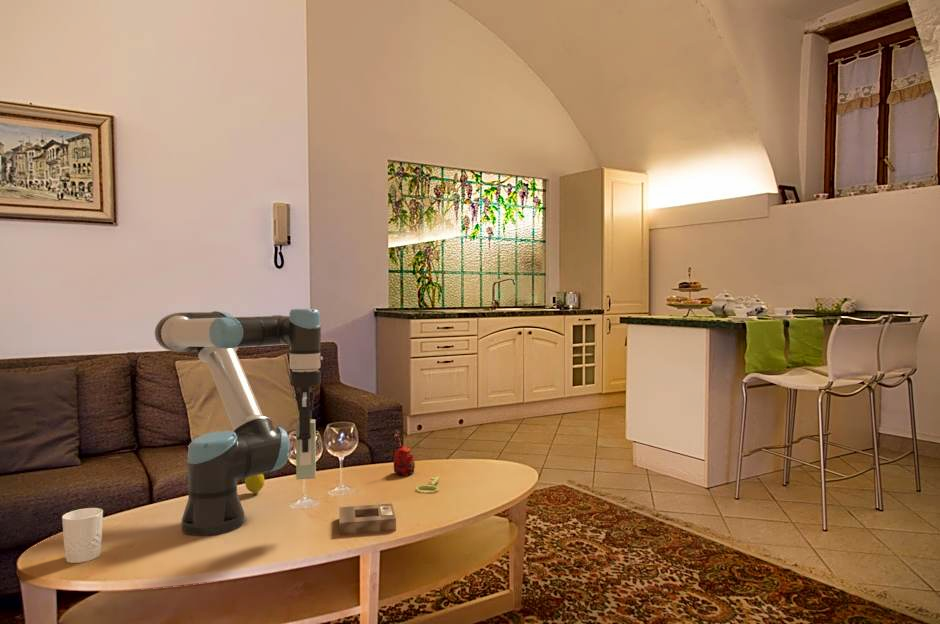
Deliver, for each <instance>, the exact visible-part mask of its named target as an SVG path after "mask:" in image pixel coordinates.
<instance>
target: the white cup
mask: <svg viewBox="0 0 940 624" xmlns="http://www.w3.org/2000/svg"><path fill="white" fill-rule="evenodd" d="M61 519H62V521H61V522H62V534H63V546H64V550H65V560H66V562H67V563H69V564H70V563H71V564H79V563H86V562H89V561H92V560H94V559H96V558H98V557H99V556H100V555H101V554H102V539H103V523H104V522H103V519H104V510H103V509H102V508H99V507H86V508H80V509H76V510H71V511H69V512H66V513H64V514H63V515H62V516H61Z"/></svg>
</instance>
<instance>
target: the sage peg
mask: <svg viewBox="0 0 940 624" xmlns="http://www.w3.org/2000/svg"><path fill="white" fill-rule="evenodd" d="M299 435H300V434H299V419H296V422H295V444H296V445H295V451H296V452H295V454H296V455H295V458H296V459H295V461H296V462H295V463H296V465H295V466H296V467H295V469H296V472H295V473H296V474H295V475H296V480H309V479H311V480H312V479H316V474H317V468H316V467H317V463H316V462H317V461H316V459H317V458H316V455H317V454H316V452H317V451H316V450H317V449H316V443H317V441H316V437H317V436H316V419H313V418H312V419H311V420H310V435H311V465H300V440H297V437H299Z"/></svg>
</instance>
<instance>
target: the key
mask: <svg viewBox="0 0 940 624" xmlns="http://www.w3.org/2000/svg"><path fill="white" fill-rule="evenodd" d="M430 481H431V482H429V483H428V484H423V485H417V486H416V487H415V492H416V491H417V492H416V493H419V492H420V494H430V495H431V494H437V493H439V492H440V488H439V487H438V486H436V484H437V483H438V482H439V481H440V476H436V477H434V476H433V477H432V476H431V478H430ZM425 490H427V491H425ZM428 490H429V491H428Z"/></svg>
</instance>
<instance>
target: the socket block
mask: <svg viewBox="0 0 940 624" xmlns="http://www.w3.org/2000/svg"><path fill="white" fill-rule="evenodd" d="M338 509H339V511H338V513H339V514H338V515H339V516H338V521H339V522H338V524H339V525H338V527H339V529H338V531H339V532H338V534H339V536H344V535H353V534H354V535H356V534H357V535H358V534H368V533H379V532H381V533H382V532H391V531H392V532H395V531H397V518H396V513H395V509H394V505H393V503H382V504H381V503H379V504H369V505H368V504H365V505H353V506H351V505H350V506H340V507H339V508H338Z"/></svg>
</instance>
